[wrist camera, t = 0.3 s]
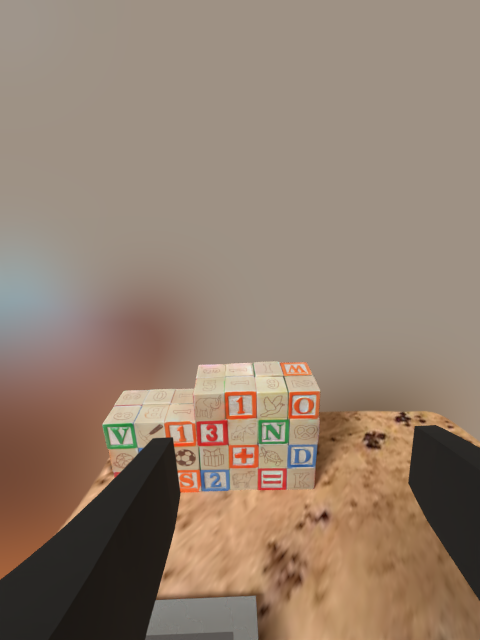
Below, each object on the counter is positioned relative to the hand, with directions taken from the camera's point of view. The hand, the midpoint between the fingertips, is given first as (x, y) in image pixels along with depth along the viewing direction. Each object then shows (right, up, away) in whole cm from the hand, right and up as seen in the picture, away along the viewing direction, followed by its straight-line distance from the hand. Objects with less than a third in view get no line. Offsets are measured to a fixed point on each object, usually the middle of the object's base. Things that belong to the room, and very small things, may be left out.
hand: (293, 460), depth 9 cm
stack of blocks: (-4, -14, +26) cm, 30 cm away
